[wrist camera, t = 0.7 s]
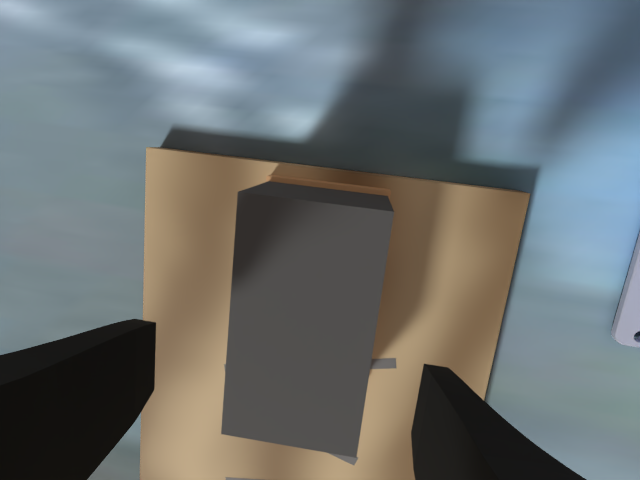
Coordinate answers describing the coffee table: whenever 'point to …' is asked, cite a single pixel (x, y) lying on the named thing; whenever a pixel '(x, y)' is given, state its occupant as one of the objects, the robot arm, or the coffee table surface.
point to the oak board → (392, 326)
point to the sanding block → (304, 311)
